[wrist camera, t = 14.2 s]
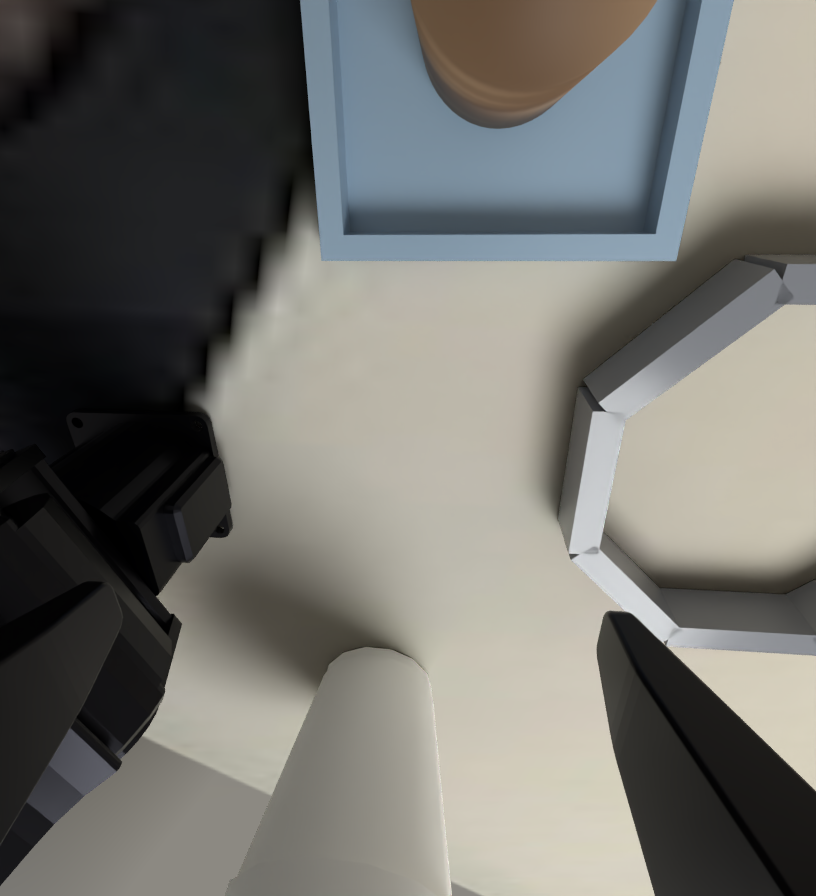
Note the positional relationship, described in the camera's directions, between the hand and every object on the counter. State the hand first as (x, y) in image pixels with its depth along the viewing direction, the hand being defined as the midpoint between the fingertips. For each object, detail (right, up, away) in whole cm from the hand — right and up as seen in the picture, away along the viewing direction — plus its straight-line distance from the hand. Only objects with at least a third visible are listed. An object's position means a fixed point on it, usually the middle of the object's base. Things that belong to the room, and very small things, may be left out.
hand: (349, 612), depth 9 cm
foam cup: (-1, -11, +21) cm, 23 cm away
